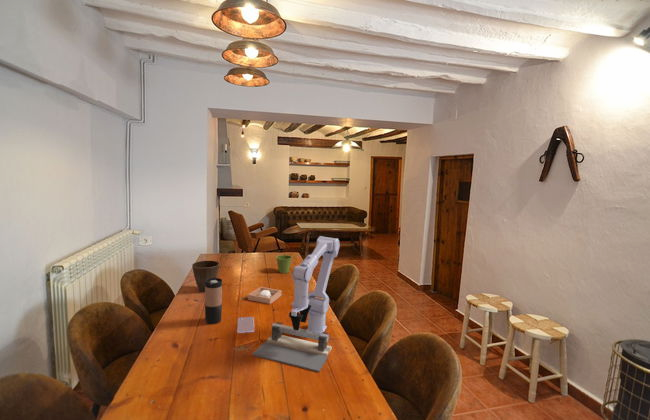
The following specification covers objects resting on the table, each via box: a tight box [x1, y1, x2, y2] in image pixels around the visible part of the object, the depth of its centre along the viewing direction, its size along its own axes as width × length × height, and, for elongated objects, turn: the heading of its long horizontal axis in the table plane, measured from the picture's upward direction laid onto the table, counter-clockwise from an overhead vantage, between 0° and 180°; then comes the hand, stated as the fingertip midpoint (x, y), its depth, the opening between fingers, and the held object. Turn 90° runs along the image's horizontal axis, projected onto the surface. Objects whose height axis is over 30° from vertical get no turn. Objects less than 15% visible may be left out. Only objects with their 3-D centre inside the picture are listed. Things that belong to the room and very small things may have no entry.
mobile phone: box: [236, 316, 255, 334], centre depth 152 cm, size 8×1×15 cm
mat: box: [251, 341, 328, 373], centre depth 128 cm, size 10×28×1 cm, turn 72°
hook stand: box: [266, 321, 333, 357], centre depth 136 cm, size 6×27×7 cm, turn 72°
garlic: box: [258, 290, 272, 298], centre depth 187 cm, size 8×7×4 cm
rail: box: [271, 322, 330, 343], centre depth 136 cm, size 2×25×2 cm, turn 72°
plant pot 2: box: [275, 254, 293, 274], centre depth 234 cm, size 12×12×11 cm
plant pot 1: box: [191, 260, 220, 293], centre depth 192 cm, size 15×15×16 cm
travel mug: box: [204, 277, 223, 325], centre depth 153 cm, size 8×8×20 cm
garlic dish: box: [247, 286, 283, 305], centre depth 186 cm, size 14×14×3 cm
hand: (299, 325), depth 135 cm, fingers open, 7 cm apart
